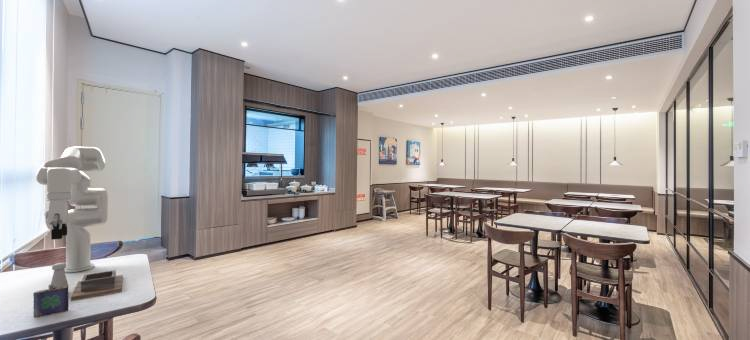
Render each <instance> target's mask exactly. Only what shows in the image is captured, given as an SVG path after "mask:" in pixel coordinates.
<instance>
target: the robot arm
mask: <svg viewBox="0 0 750 340" xmlns="http://www.w3.org/2000/svg"><path fill="white" fill-rule="evenodd" d="M105 166H106V160H105V157H104V155H103V152H102V151H101V150H100V149H99V148H98V147H95V146H91V147H90V146H71V147H68V148H66V149H65V150H64V152H63V153H62V155H61V156H60V157H58V158H57V157H56V158H54V159H51V160H47V161H45V162H43V163H42V164H41V165H40V166H39V168H38V169H37V172H36V175H35V178H36V182H37V183H39V185H43V186H46V192H47V193H46V200H47V202H49V204H48V216H47V217H48V219H47V224H48V225H49V226H51V233H50V234H51V240H61V239H63V236H65V263H66V268H65V269H64V270H65V274H66V273H77V272H78V273H79V272H83V271H88V270H90V269H93V268H94V267H95V264H94V263H91V234H90V232H89V230H87V229H86V228H85V227H97V226H104V225H105V224H106V223H107V221H108V208H109V205H108V203H109V196H108V192H107V190H106V189H104V188H101V187H96V188H93V187H92V188H91V179H90V177H89V176H88V175H87V174H86V173H84V172H100V171H103V170H104V169H105ZM69 205H70V206H71V207H78V208H72V209H69ZM79 207H85V208H79ZM86 207H87V208H86ZM88 207H89V208H88Z"/></svg>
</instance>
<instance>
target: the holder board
mask: <svg viewBox="0 0 750 340" xmlns="http://www.w3.org/2000/svg"><path fill="white" fill-rule="evenodd" d="M116 273H117V272H116V269H115V270H109V271H108V270H107V271H102V272H101V271H100V272H94V273H93V272H92V273H87V274H83V277H82V279H81V280H78V281H77V283H76V286H75V287H74V290H73V292H72V294H71V296H70V301H71V302H72V301H76V300H82V299H87V298H93V297H100V296H104V295H106V296H107V295H110V294H115V293H117V294H118V293H121V292H122V287H123V279H124V275H123V274H119V275H118V274H116Z"/></svg>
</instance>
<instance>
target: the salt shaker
mask: <svg viewBox="0 0 750 340" xmlns="http://www.w3.org/2000/svg"><path fill="white" fill-rule="evenodd" d="M65 268H66V262H57V263H54V264H52V265H51V270H52V271H53V273H52V274H53V275H52V278H51V281H50V285H51V284H53V286H56V287H61V286H63V287H64V286H67V287H68V288H69V283H68V280H67V275H66V272H65V270H64V269H65Z"/></svg>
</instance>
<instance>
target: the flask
mask: <svg viewBox="0 0 750 340" xmlns="http://www.w3.org/2000/svg"><path fill="white" fill-rule="evenodd" d="M47 287H48V288H47V289H42V290H36V291H34V292H33V302H32V303H33V318H40V316H41V317H44V316H45V315H46V316H50V315H54V314H55V315H56V314H60V313H64V312H68V311H69V307H70V306H69V287H67V286H64V287H63V286H61V287H56V286H53V284H51V283H50V284H48V286H47Z"/></svg>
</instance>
